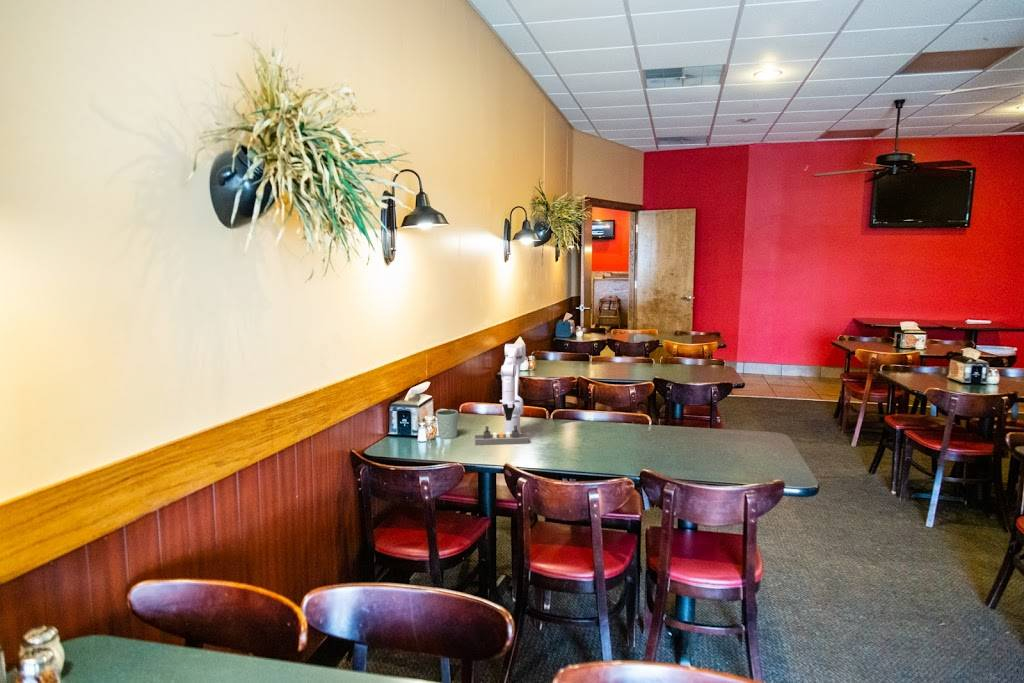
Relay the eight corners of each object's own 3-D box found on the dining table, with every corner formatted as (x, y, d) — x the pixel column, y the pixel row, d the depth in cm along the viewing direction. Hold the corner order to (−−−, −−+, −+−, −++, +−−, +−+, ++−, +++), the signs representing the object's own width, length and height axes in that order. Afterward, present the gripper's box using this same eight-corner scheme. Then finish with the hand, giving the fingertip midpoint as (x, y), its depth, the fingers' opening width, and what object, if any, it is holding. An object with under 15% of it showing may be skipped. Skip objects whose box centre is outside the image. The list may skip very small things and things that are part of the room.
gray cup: (460, 434, 295) (459, 409, 293) (456, 440, 285) (455, 414, 283) (439, 433, 296) (438, 409, 294) (434, 439, 286) (434, 414, 284)
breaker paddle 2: (505, 436, 282) (505, 432, 282) (509, 435, 283) (509, 432, 282) (506, 437, 280) (506, 433, 280) (509, 437, 280) (509, 433, 280)
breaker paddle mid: (499, 436, 282) (499, 432, 282) (502, 436, 282) (502, 432, 282) (499, 437, 280) (499, 433, 279) (503, 437, 280) (503, 433, 280)
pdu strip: (474, 440, 284) (474, 434, 283) (526, 439, 286) (526, 433, 286) (475, 445, 277) (475, 439, 276) (528, 443, 279) (528, 437, 279)
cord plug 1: (483, 436, 282) (483, 425, 281) (490, 436, 282) (490, 425, 281) (483, 438, 279) (483, 427, 278) (490, 438, 279) (490, 427, 278)
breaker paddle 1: (492, 436, 282) (492, 432, 282) (496, 436, 282) (496, 432, 282) (493, 437, 279) (493, 434, 279) (496, 437, 280) (496, 433, 279)
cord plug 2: (511, 435, 283) (511, 425, 282) (518, 435, 283) (518, 424, 283) (512, 437, 280) (512, 426, 279) (519, 437, 280) (519, 426, 280)
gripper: (498, 388, 285) (498, 416, 286) (501, 393, 270) (501, 424, 272) (513, 387, 286) (513, 416, 287) (517, 393, 271) (517, 423, 273)
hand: (508, 420), depth 279 cm, fingers closed
